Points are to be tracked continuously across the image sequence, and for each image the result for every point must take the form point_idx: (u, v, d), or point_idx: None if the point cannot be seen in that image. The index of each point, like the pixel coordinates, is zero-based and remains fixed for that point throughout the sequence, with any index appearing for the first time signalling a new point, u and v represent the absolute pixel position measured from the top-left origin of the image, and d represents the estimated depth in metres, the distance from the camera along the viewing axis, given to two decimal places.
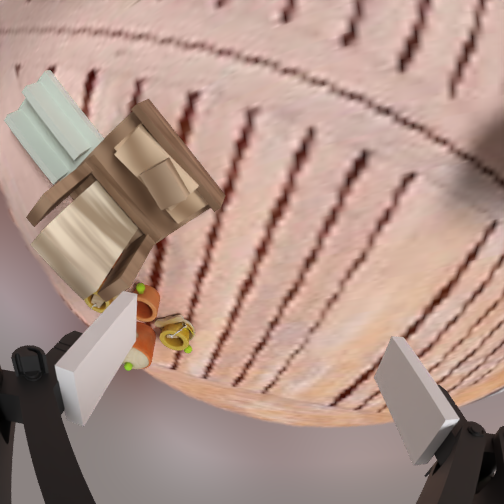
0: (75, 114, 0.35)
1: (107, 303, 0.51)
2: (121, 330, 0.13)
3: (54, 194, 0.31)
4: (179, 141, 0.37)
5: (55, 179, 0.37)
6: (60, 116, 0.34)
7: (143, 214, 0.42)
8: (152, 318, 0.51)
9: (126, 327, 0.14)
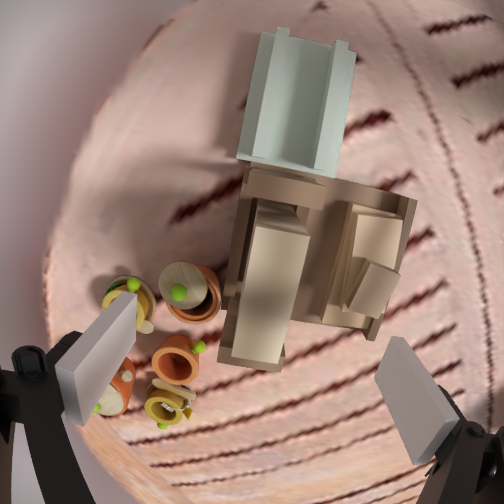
0: (341, 125, 0.30)
1: (136, 326, 0.34)
2: (121, 330, 0.13)
3: None
4: None
5: (263, 154, 0.28)
6: None
7: None
8: (174, 382, 0.36)
9: (126, 327, 0.14)
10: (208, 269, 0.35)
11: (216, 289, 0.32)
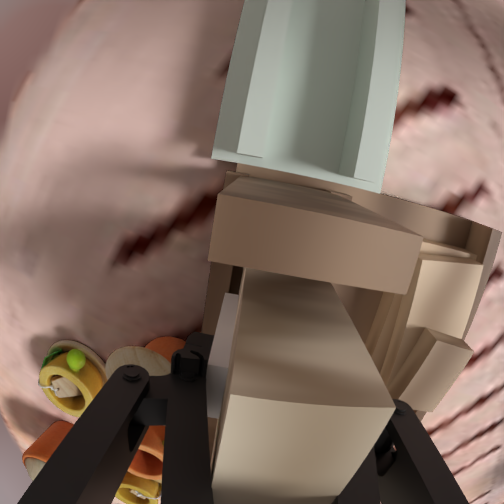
0: (390, 104, 0.16)
1: None
2: None
3: None
4: None
5: (258, 150, 0.14)
6: None
7: None
8: (144, 477, 0.22)
9: None
10: None
11: None
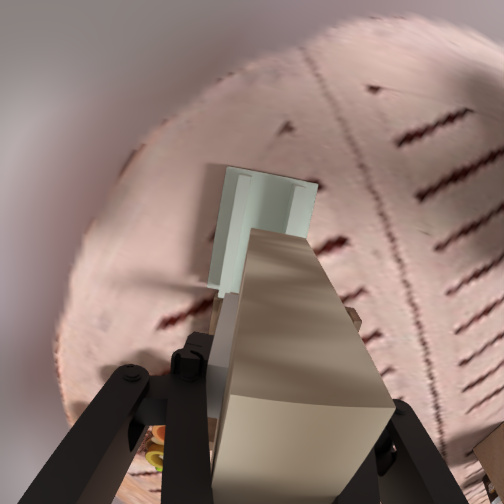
0: None
1: None
2: None
3: None
4: None
5: None
6: None
7: None
8: None
9: None
10: None
11: None
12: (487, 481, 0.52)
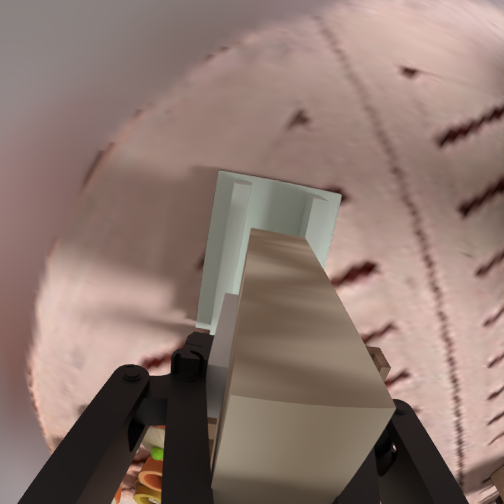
0: None
1: None
2: None
3: None
4: None
5: None
6: None
7: None
8: (159, 490, 0.34)
9: None
10: None
11: None
12: (501, 503, 0.42)
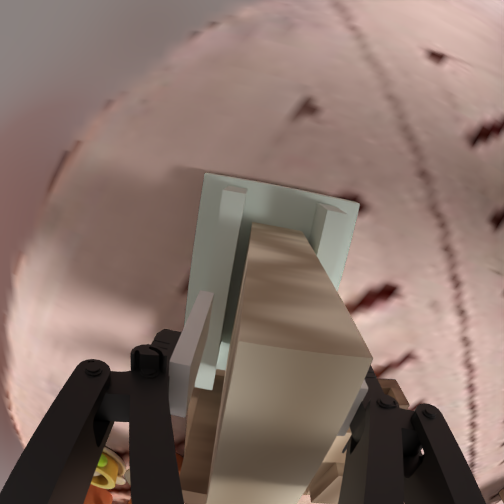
0: None
1: (108, 487, 0.27)
2: (206, 326, 0.15)
3: None
4: None
5: (208, 386, 0.20)
6: None
7: None
8: None
9: (207, 323, 0.16)
10: None
11: None
12: None
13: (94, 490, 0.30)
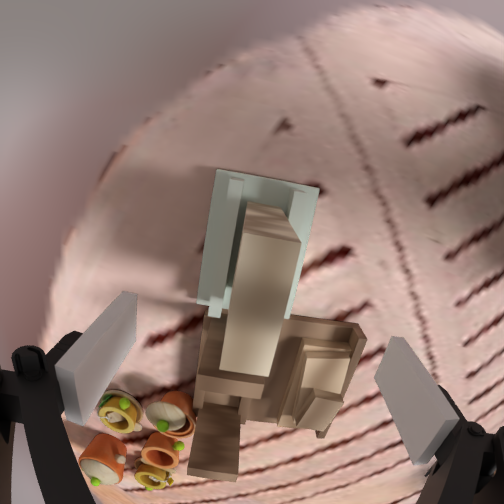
0: (297, 271, 0.33)
1: (128, 430, 0.37)
2: (121, 330, 0.13)
3: None
4: None
5: (217, 315, 0.31)
6: None
7: None
8: (159, 467, 0.39)
9: (126, 327, 0.14)
10: (186, 397, 0.38)
11: (192, 420, 0.35)
12: None
13: (112, 441, 0.41)
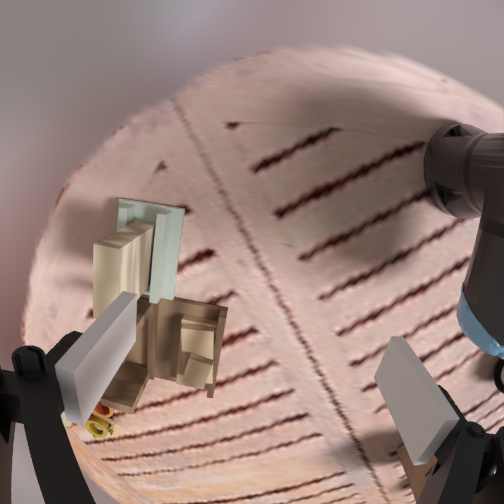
0: (173, 266, 0.47)
1: None
2: (121, 330, 0.13)
3: None
4: None
5: None
6: (164, 259, 0.45)
7: (155, 357, 0.51)
8: (100, 415, 0.53)
9: (126, 327, 0.14)
10: None
11: None
12: None
13: None
